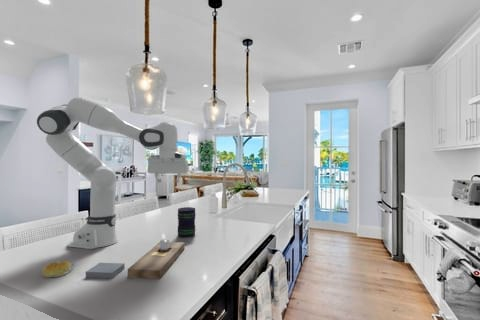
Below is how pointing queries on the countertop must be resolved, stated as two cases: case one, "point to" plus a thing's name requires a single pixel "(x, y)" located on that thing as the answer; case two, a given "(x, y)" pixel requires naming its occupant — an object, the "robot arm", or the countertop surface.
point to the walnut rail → (155, 261)
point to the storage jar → (186, 222)
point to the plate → (105, 270)
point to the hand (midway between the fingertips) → (168, 182)
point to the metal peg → (164, 245)
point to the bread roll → (57, 269)
